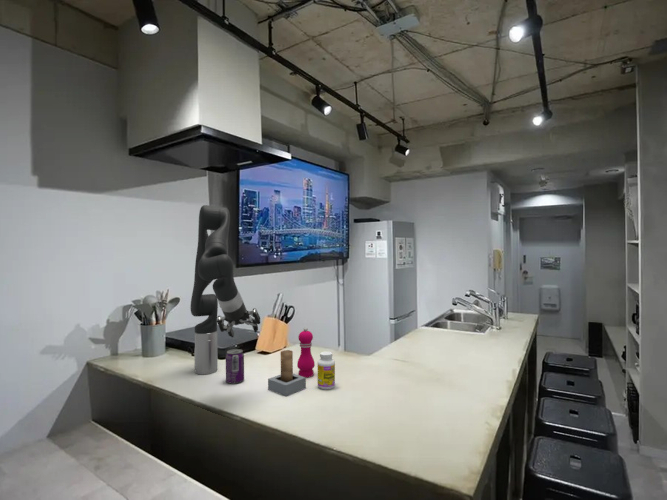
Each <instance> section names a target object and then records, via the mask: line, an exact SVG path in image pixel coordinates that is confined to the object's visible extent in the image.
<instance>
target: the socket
mask: <svg viewBox="0 0 667 500" xmlns="http://www.w3.org/2000/svg"><path fill="white" fill-rule="evenodd" d="M267 385H268V386H267V390H268V391H271V392H274V393H277V394H279V395H281V396H284V397H289V396H290V395H293V394H295V393H298V392H299V391H303V390H305V389H306V388H307V378H306V377H302V376H299V374H296V373H293V380H291V381H289V382H284V381H281V374H278V375H275V376H273V377H270V378H268V379H267Z"/></svg>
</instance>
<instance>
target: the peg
mask: <svg viewBox="0 0 667 500" xmlns="http://www.w3.org/2000/svg"><path fill="white" fill-rule="evenodd" d="M293 353H294V352H293V351H292V350H290V349H289V350H288V349H285V350H281V351H280V375H281V381H284V382H289V381H291V380H293V374H294V372H293V371H294V368H293V367H294V366H293V364H294V362H293V359H294V358H293V356H294V355H293Z"/></svg>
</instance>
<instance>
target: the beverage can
mask: <svg viewBox="0 0 667 500" xmlns="http://www.w3.org/2000/svg"><path fill="white" fill-rule="evenodd" d="M243 351H244V350H243V349H239V348H234V349H230V350H227V351H226V355H225V382H226V383H229V384H239V383H241V382H242V381H244V380H245V355H244V352H243Z"/></svg>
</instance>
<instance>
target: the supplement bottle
mask: <svg viewBox="0 0 667 500" xmlns="http://www.w3.org/2000/svg"><path fill="white" fill-rule="evenodd" d="M319 357H320V358H319V359H318V360H317V387H318V388H319V389H320V390H331V389H333V388H335V386H336V371H335V370H336V367H335V366H336V363H335V360H334V359H333V352H331V351H321V352H320V353H319Z"/></svg>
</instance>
